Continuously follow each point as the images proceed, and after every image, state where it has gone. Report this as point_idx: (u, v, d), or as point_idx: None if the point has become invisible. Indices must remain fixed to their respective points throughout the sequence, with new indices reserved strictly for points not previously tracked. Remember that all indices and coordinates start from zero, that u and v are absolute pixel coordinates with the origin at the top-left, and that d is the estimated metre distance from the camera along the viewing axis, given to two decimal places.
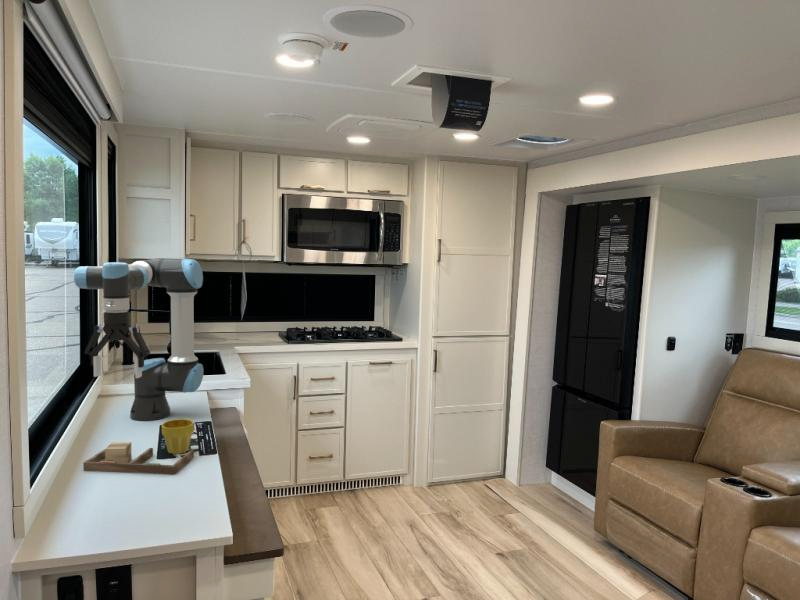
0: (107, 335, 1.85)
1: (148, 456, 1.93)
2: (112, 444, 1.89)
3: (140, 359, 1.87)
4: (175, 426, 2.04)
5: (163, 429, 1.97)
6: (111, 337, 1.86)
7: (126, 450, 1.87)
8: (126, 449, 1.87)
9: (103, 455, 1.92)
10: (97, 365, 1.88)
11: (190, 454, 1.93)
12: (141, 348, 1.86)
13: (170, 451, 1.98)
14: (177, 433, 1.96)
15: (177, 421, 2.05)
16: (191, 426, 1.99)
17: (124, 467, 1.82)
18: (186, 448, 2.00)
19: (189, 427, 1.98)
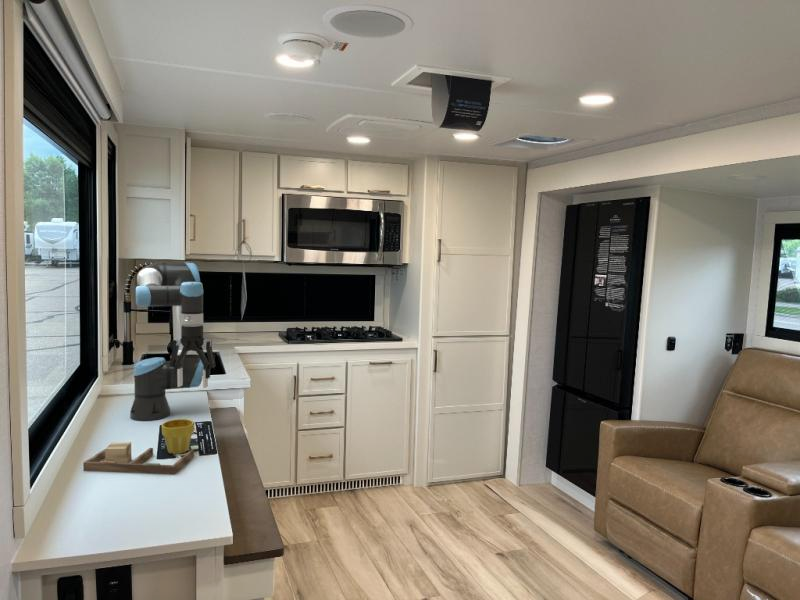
0: (185, 347, 2.09)
1: (148, 456, 1.93)
2: (112, 444, 1.89)
3: (207, 371, 2.11)
4: (175, 426, 2.04)
5: (163, 429, 1.97)
6: (187, 348, 2.10)
7: (126, 450, 1.87)
8: (126, 449, 1.87)
9: (103, 455, 1.92)
10: (180, 377, 2.12)
11: (190, 454, 1.93)
12: (210, 361, 2.10)
13: (170, 451, 1.98)
14: (177, 433, 1.96)
15: (177, 421, 2.05)
16: (191, 426, 1.99)
17: (124, 467, 1.82)
18: (186, 448, 2.00)
19: (189, 427, 1.98)
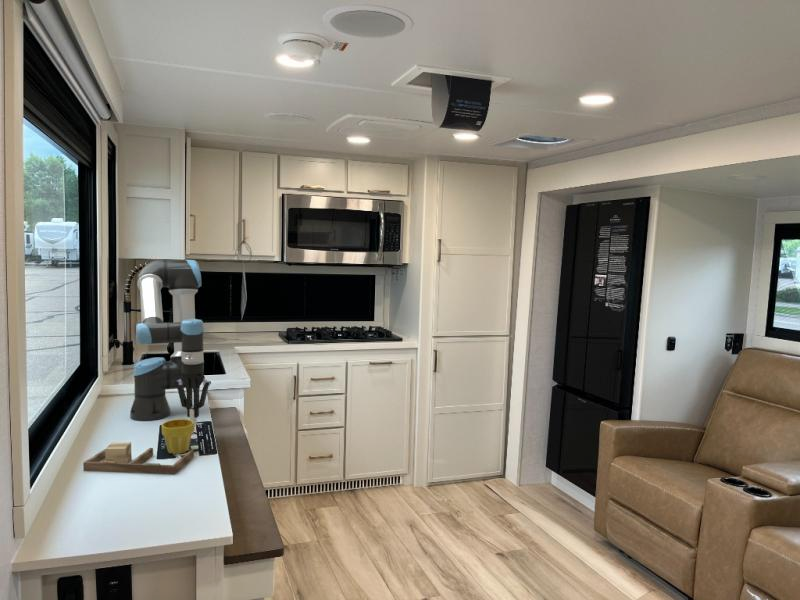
0: (187, 384, 2.11)
1: (148, 456, 1.93)
2: (112, 444, 1.89)
3: (196, 410, 2.12)
4: (175, 426, 2.04)
5: (163, 429, 1.97)
6: None
7: (126, 450, 1.87)
8: (126, 449, 1.87)
9: (103, 455, 1.92)
10: None
11: (190, 454, 1.93)
12: (201, 400, 2.11)
13: (170, 451, 1.98)
14: (177, 433, 1.96)
15: (177, 421, 2.05)
16: (191, 426, 1.99)
17: (124, 467, 1.82)
18: (186, 448, 2.00)
19: (189, 427, 1.98)
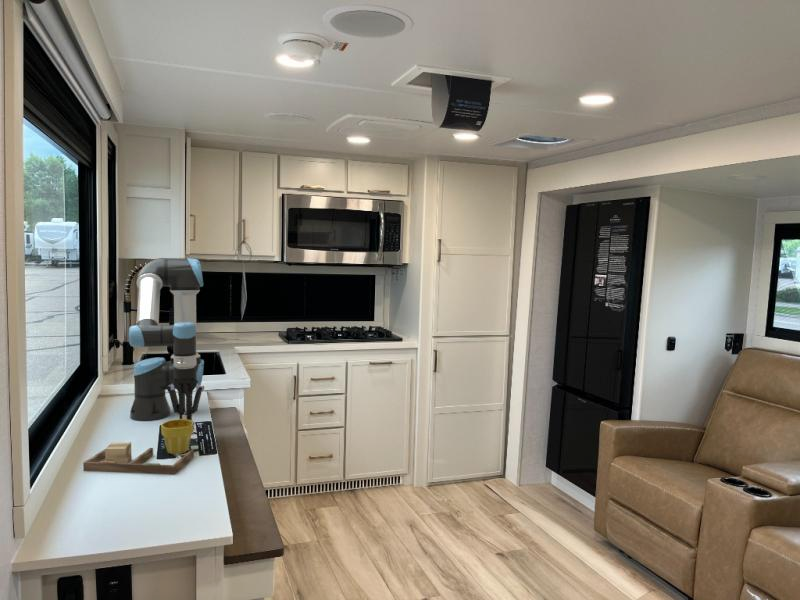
0: (180, 390, 2.04)
1: (148, 456, 1.93)
2: (112, 444, 1.89)
3: (188, 416, 2.06)
4: (175, 426, 2.04)
5: (162, 429, 1.96)
6: None
7: (126, 450, 1.87)
8: (126, 449, 1.87)
9: (103, 455, 1.92)
10: None
11: (190, 454, 1.93)
12: (194, 406, 2.05)
13: (169, 451, 1.98)
14: (176, 433, 1.95)
15: (177, 421, 2.04)
16: (190, 426, 1.99)
17: (124, 467, 1.82)
18: (185, 448, 2.00)
19: (188, 427, 1.98)
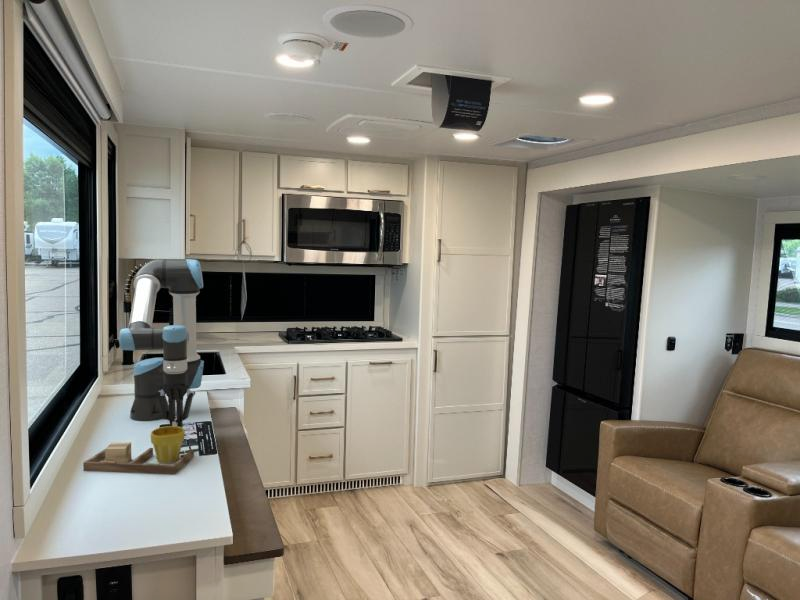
0: (170, 395, 1.96)
1: (148, 456, 1.93)
2: (112, 444, 1.89)
3: (179, 423, 1.98)
4: (165, 434, 1.96)
5: (152, 437, 1.88)
6: None
7: (126, 450, 1.87)
8: (126, 449, 1.87)
9: (103, 455, 1.92)
10: None
11: (190, 454, 1.93)
12: (184, 412, 1.97)
13: (160, 460, 1.90)
14: (167, 441, 1.88)
15: (167, 428, 1.96)
16: (182, 434, 1.91)
17: (124, 467, 1.82)
18: (176, 457, 1.92)
19: (180, 435, 1.90)
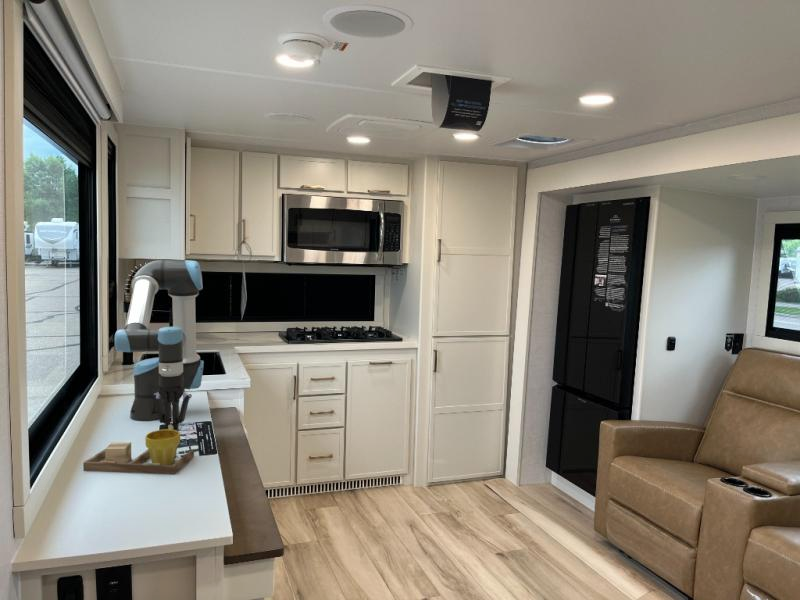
0: (165, 398, 1.93)
1: (148, 456, 1.93)
2: (112, 444, 1.89)
3: (175, 426, 1.94)
4: (160, 437, 1.93)
5: (147, 441, 1.85)
6: None
7: (126, 450, 1.87)
8: (126, 449, 1.87)
9: (103, 455, 1.92)
10: None
11: (190, 454, 1.93)
12: (180, 415, 1.93)
13: None
14: (161, 445, 1.84)
15: (162, 432, 1.93)
16: (177, 437, 1.88)
17: (124, 467, 1.82)
18: (171, 461, 1.88)
19: (174, 438, 1.87)
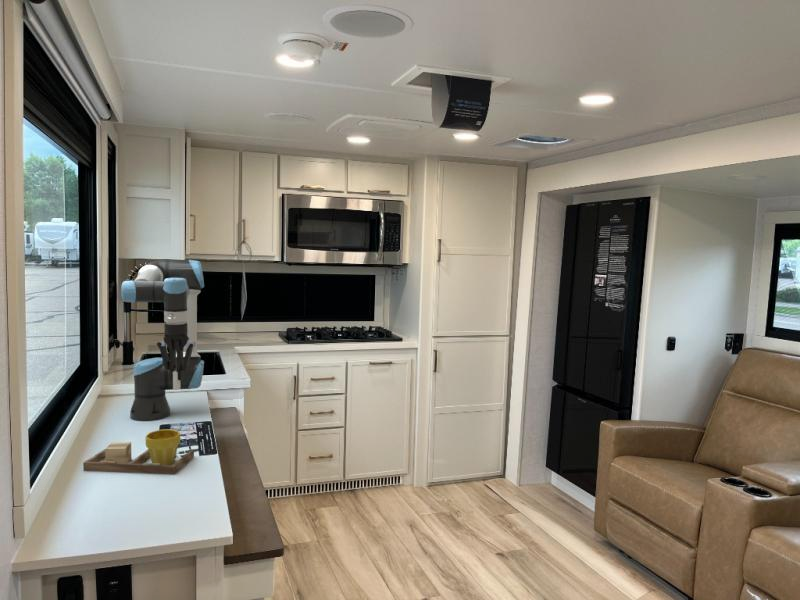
0: (170, 346, 2.01)
1: (148, 456, 1.93)
2: (112, 444, 1.89)
3: (179, 373, 2.04)
4: (160, 437, 1.93)
5: (147, 441, 1.85)
6: None
7: (126, 450, 1.87)
8: (126, 449, 1.87)
9: (103, 455, 1.92)
10: None
11: (190, 454, 1.93)
12: (184, 362, 2.03)
13: None
14: (161, 445, 1.84)
15: (163, 432, 1.93)
16: (177, 437, 1.88)
17: (124, 467, 1.82)
18: (171, 461, 1.88)
19: (174, 438, 1.87)
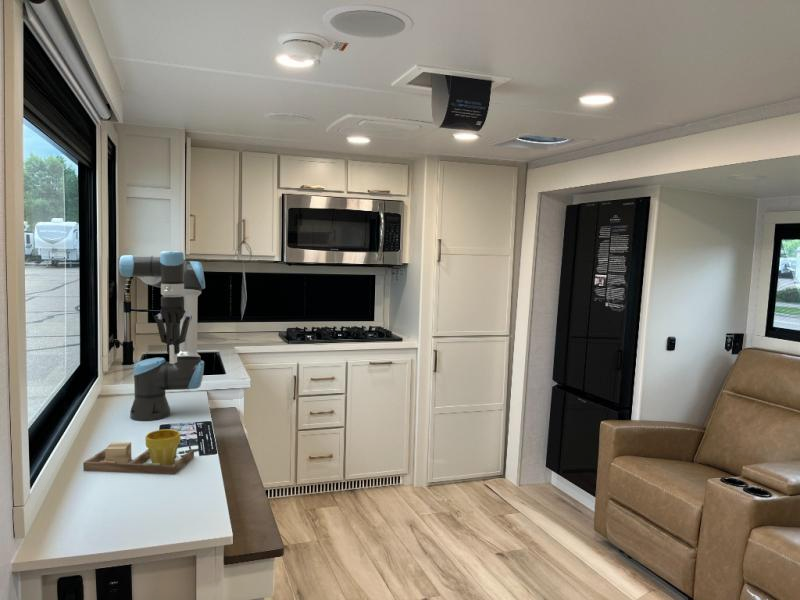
0: (167, 319, 2.02)
1: (148, 456, 1.93)
2: (112, 444, 1.89)
3: (176, 346, 2.03)
4: (160, 437, 1.93)
5: (147, 441, 1.85)
6: None
7: (126, 450, 1.87)
8: (126, 449, 1.87)
9: (103, 455, 1.92)
10: None
11: (190, 454, 1.93)
12: (181, 335, 2.02)
13: None
14: (161, 445, 1.84)
15: (163, 432, 1.93)
16: (177, 437, 1.88)
17: (124, 467, 1.82)
18: (171, 461, 1.88)
19: (174, 438, 1.87)
